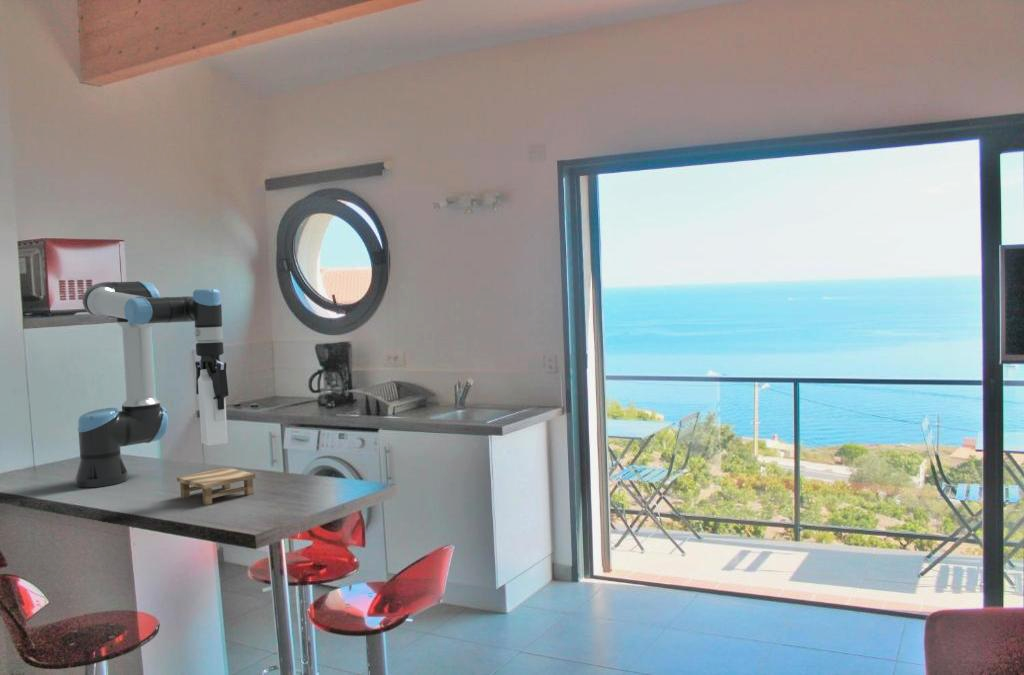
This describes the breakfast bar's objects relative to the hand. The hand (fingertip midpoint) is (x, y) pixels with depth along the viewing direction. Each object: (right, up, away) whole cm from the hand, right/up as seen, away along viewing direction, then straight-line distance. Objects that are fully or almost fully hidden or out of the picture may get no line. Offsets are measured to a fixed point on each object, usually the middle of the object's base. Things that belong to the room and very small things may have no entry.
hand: (213, 419), depth 234 cm
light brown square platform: (+1, -23, +1) cm, 23 cm away
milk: (0, -7, 0) cm, 7 cm away
